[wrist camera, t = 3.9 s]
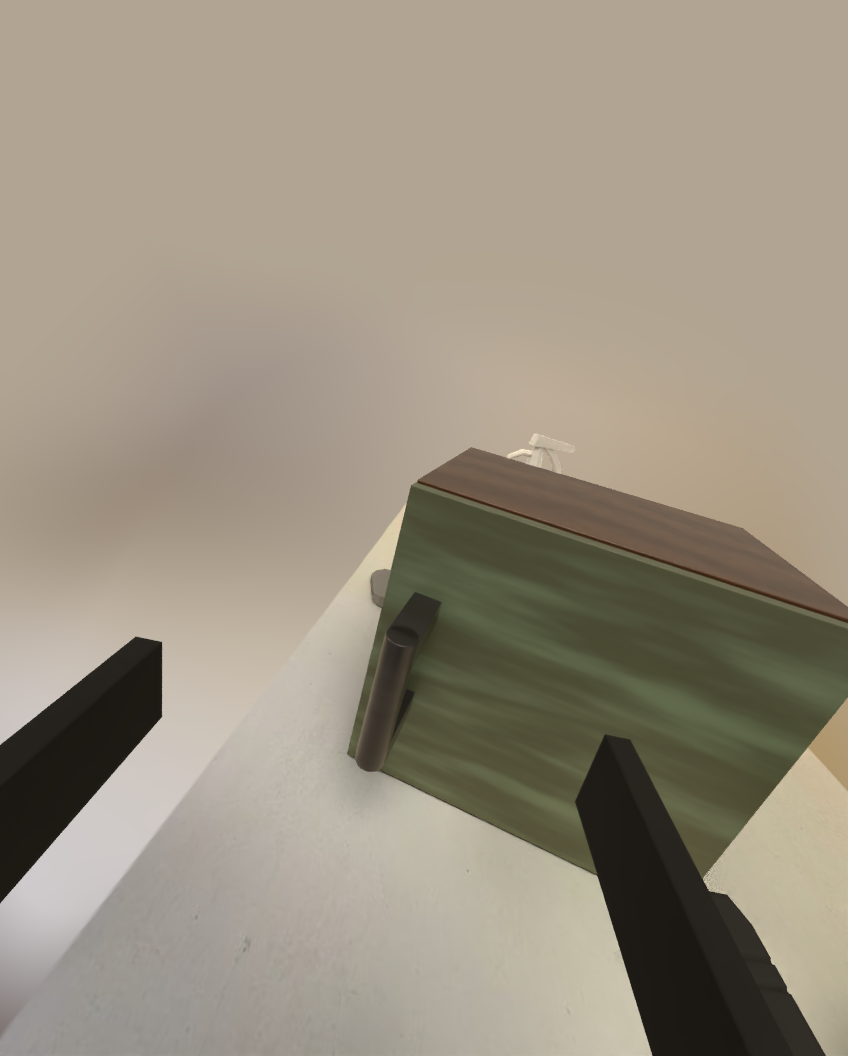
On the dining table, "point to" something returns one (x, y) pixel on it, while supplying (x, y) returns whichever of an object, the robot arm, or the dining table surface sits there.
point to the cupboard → (632, 526)
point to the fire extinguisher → (537, 451)
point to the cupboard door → (583, 677)
